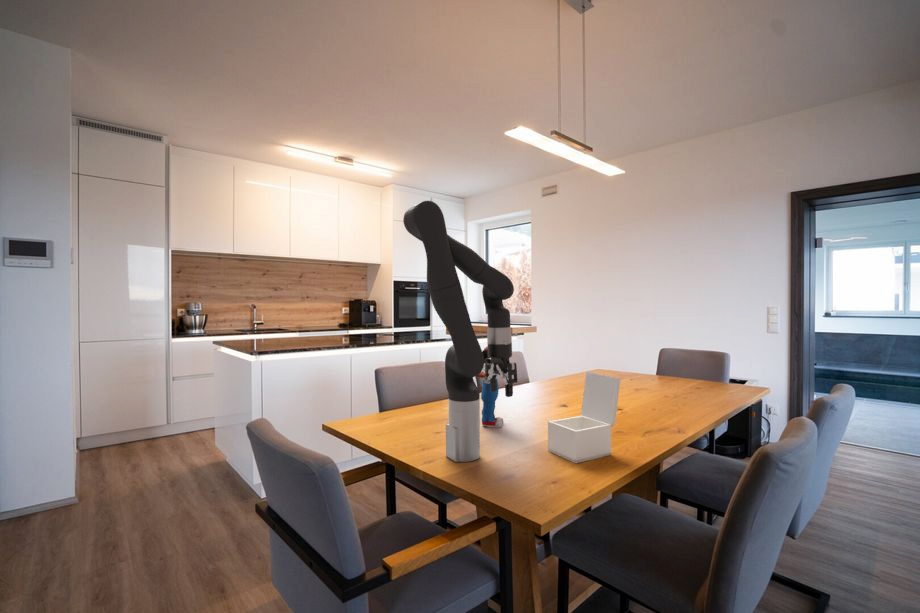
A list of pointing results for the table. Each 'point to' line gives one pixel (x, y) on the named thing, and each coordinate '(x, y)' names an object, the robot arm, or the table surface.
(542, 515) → the table surface
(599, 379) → the lid
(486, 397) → the toy
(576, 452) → the box
